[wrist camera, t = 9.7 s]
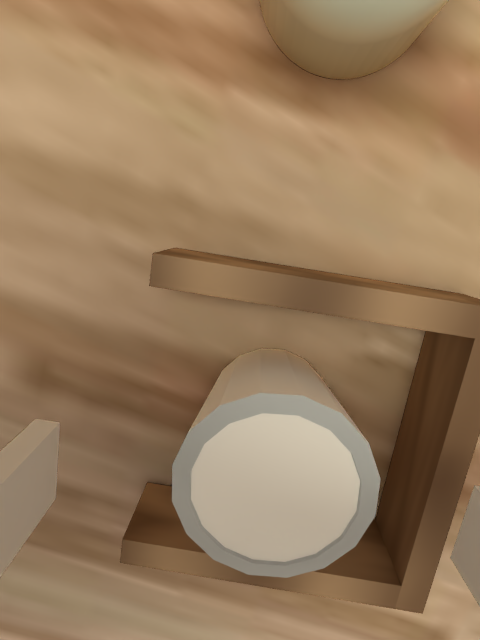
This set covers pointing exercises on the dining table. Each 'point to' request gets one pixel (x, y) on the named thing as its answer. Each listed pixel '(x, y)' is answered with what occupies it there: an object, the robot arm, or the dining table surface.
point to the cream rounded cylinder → (346, 32)
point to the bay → (411, 446)
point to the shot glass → (274, 470)
